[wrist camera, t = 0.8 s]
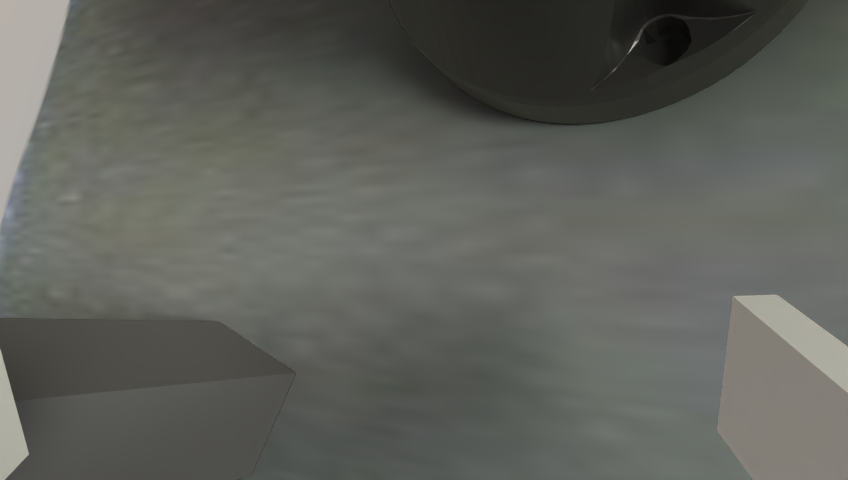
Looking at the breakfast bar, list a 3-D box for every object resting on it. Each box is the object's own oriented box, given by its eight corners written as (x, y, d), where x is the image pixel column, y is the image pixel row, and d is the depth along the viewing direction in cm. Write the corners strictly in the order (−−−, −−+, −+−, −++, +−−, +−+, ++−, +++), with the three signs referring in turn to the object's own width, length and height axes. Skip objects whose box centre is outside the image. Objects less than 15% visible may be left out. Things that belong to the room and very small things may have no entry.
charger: (216, 319, 27) (-122, 312, 16) (296, 372, 25) (-30, 405, 14) (175, 414, 27) (-183, 469, 16) (251, 474, 25) (-102, 583, 14)
